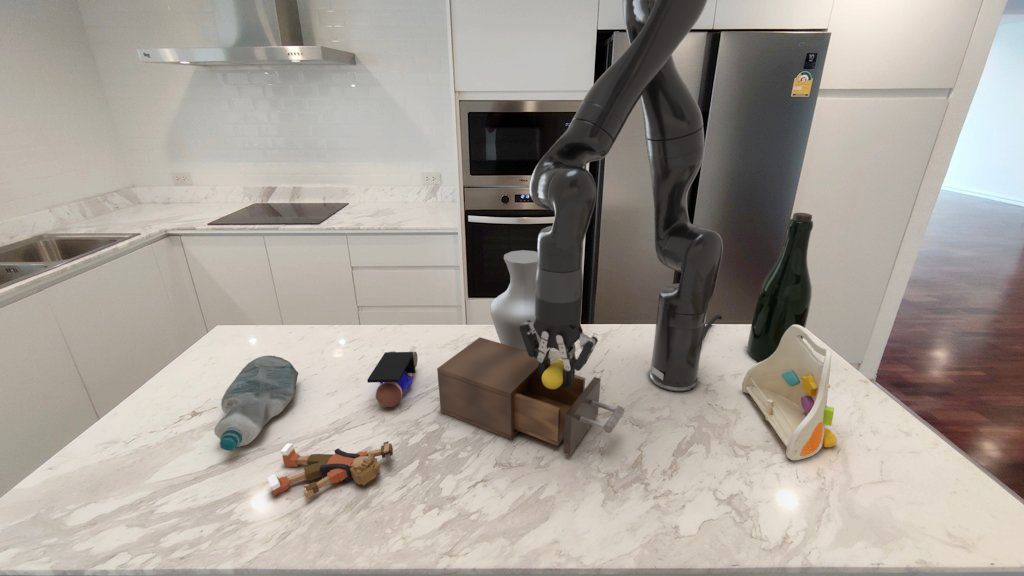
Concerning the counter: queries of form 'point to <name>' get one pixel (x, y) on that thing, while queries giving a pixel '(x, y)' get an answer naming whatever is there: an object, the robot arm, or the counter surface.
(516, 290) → the vase
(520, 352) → the cabinet
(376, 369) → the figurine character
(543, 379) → the yellow capsule
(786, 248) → the green wine bottle
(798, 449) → the shape sorter
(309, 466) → the character figurine
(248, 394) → the plastic water bottle
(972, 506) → the counter surface
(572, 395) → the drawer
